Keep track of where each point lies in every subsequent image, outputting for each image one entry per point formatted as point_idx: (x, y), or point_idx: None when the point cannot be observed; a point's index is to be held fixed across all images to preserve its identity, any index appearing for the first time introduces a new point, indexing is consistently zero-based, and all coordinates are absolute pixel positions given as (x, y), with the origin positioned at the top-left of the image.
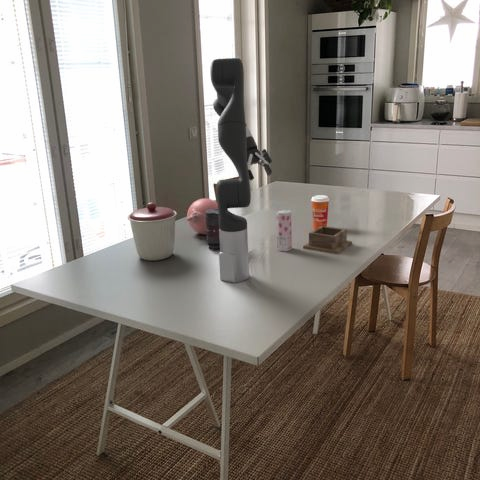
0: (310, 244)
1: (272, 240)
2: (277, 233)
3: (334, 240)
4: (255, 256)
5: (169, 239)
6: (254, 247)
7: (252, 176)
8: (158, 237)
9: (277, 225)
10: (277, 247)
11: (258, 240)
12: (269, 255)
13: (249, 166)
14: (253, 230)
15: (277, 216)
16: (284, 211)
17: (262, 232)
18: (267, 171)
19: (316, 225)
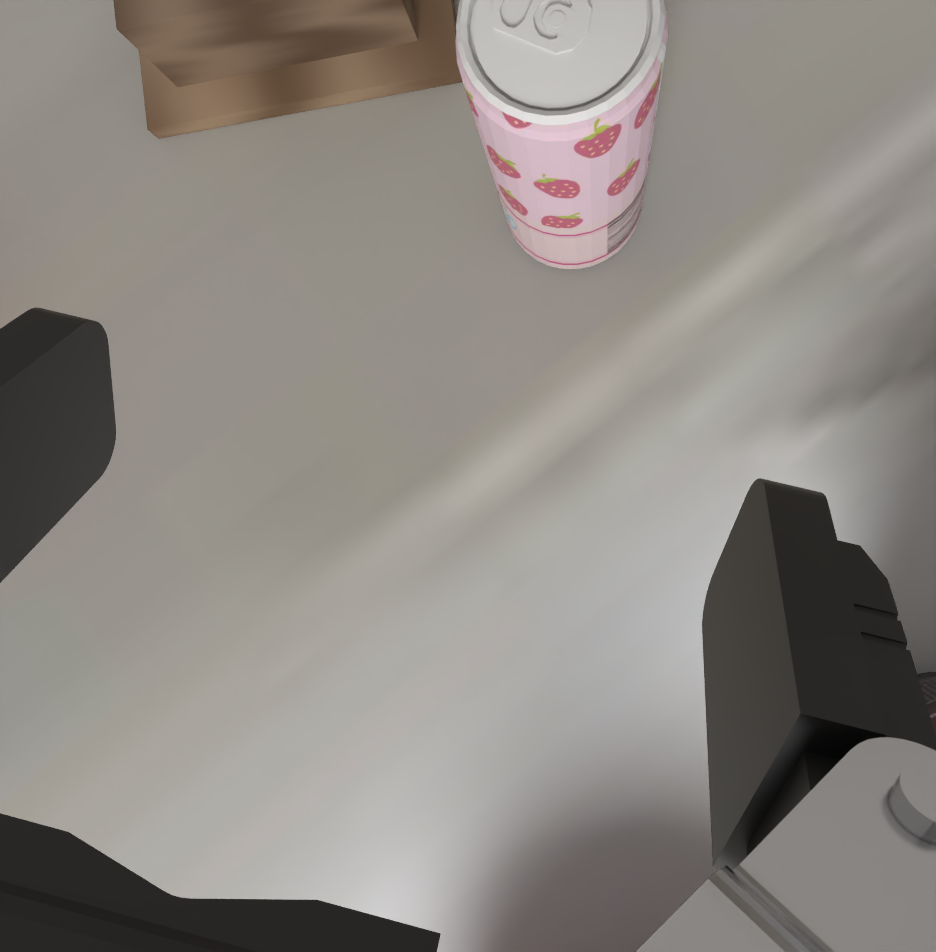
0: (412, 19)
1: (431, 455)
2: (642, 175)
3: None
4: (895, 286)
5: None
6: (694, 463)
7: (814, 511)
8: None
9: (650, 135)
10: (631, 231)
11: (505, 566)
12: (795, 201)
13: (803, 836)
14: (283, 811)
15: (657, 80)
16: (535, 27)
17: (287, 693)
18: (39, 455)
19: None
